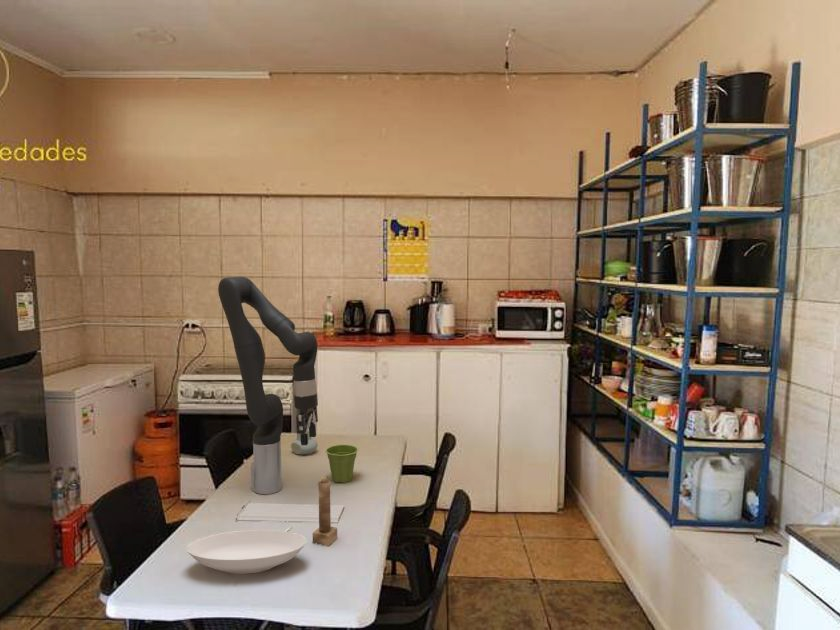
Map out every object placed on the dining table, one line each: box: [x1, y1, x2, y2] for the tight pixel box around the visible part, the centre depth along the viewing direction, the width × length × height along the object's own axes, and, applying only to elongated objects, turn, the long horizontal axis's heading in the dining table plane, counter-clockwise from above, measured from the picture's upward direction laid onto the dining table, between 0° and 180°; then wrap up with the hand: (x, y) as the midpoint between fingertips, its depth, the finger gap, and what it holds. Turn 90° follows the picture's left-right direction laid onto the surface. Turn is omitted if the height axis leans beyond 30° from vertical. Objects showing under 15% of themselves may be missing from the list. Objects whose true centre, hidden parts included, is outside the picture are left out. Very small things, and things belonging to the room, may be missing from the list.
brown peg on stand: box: [312, 476, 338, 547], centre depth 150 cm, size 5×5×18 cm
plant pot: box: [325, 444, 359, 484], centre depth 194 cm, size 12×12×11 cm
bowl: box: [186, 529, 307, 575], centre depth 137 cm, size 30×15×6 cm, turn 94°
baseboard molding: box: [235, 500, 345, 524], centre depth 166 cm, size 31×3×12 cm
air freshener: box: [290, 427, 319, 456], centre depth 223 cm, size 11×8×10 cm
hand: (308, 440), depth 177 cm, fingers open, 8 cm apart
